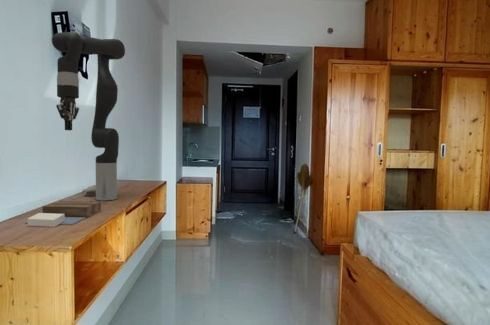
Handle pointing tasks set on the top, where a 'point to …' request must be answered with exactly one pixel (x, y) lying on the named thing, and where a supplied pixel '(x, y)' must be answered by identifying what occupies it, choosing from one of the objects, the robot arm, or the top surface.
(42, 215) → the cream thick tile
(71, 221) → the mat
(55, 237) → the top surface
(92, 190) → the packaged product
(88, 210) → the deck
